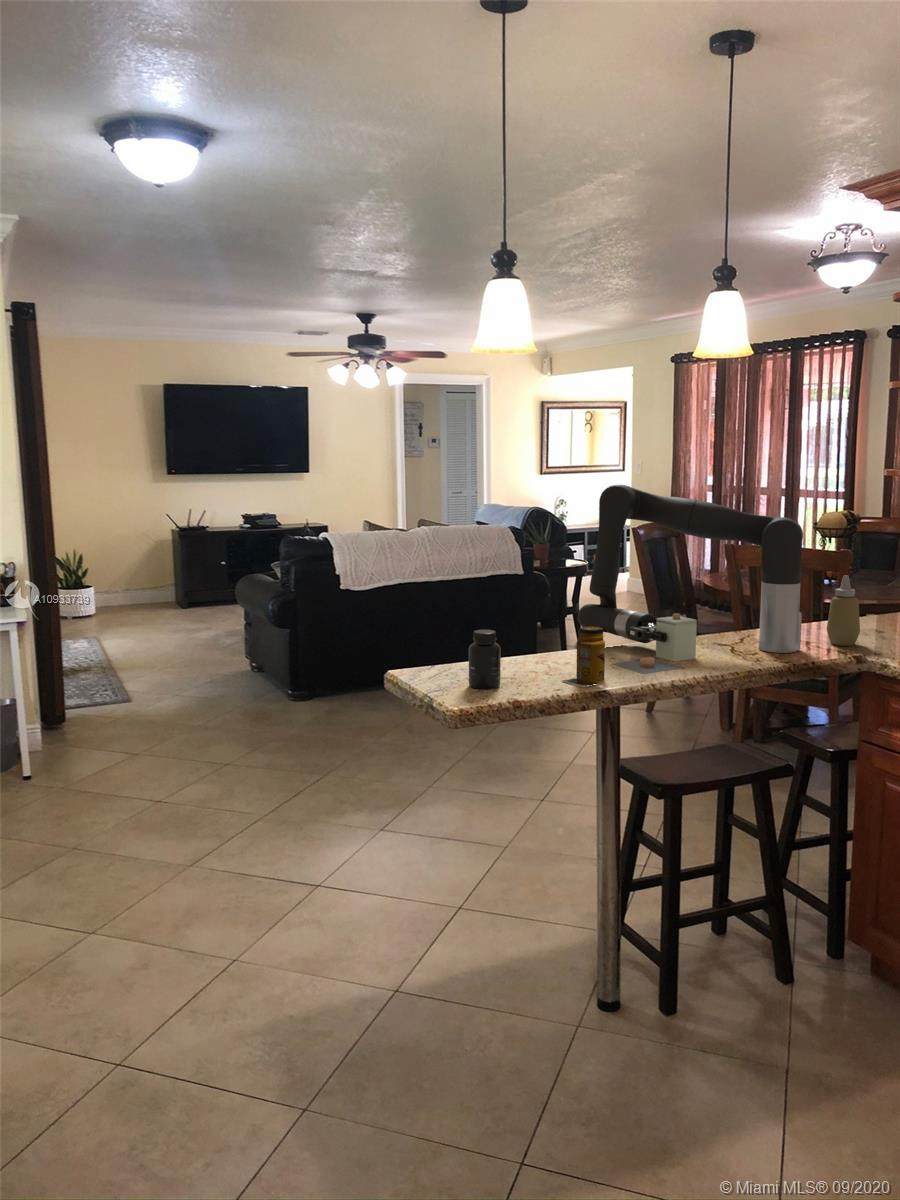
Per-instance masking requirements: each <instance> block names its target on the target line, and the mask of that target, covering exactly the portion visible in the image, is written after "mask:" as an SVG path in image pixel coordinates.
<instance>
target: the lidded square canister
mask: <svg viewBox="0 0 900 1200" xmlns="http://www.w3.org/2000/svg"><path fill="white" fill-rule="evenodd" d="M656 619H657V625H656V631H660V632H664V633H666V634H667V641H666V642H660V641H656V640H655V657H656V658H661V659H664V660H667V661H671V662H682V661H689V660H695V659H696V656H697V655H696V654H697V653H696V652H697V626H698V625H697V623H698V622H697V619H694V618H689V617H684V616H681V613H676V612H675V613H672V616H665V617H656Z"/></svg>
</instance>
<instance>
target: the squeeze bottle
mask: <svg viewBox="0 0 900 1200" xmlns="http://www.w3.org/2000/svg"><path fill="white" fill-rule="evenodd" d="M842 576H843V577H842V579H841V583H840V586H839V588H835V593H834V594H835V596H833V597H832V598H831V599H830V605H829V612H828V616H827V617H828V618H827V625H826V632H827V636H828V639H829V643H830V644H832V645H835V646H839V647H840V646H841V647H842V646H843V647H848V646H849V647H850V646H854V645H856V642H857V640H858V638H859V636H860V633H861V624H860V622H861V621H860V604H859V601H860V600H859V599H858V598H857V597H855V596H856V589H854V588H851V582H850V576H849V574H845V575H842Z"/></svg>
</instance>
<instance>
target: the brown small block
mask: <svg viewBox="0 0 900 1200" xmlns="http://www.w3.org/2000/svg"><path fill="white" fill-rule="evenodd" d="M639 660H640V666H641V667H654V660H656V659H655V658H654V657H653V656H641V657H640V659H639Z"/></svg>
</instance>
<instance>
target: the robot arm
mask: <svg viewBox="0 0 900 1200" xmlns="http://www.w3.org/2000/svg"><path fill="white" fill-rule="evenodd" d="M598 503H599V505H598V508H599V509H598V534H597V543H596V549H595V555H594V561H593V566H592V571H591V576H590V577H591V578H590V582H589V593H590V594H592V595H594V596H597V597H599V602H600V603H598V604H596V603H589V604H588V603H587V604H584V605H583V606H582V607H580V609H579V610H578V612H577V621H578V624H579V625H580V626H581V627H586V626H595V627H601V628H602V629H603V633H607V634H612V635H614V636H616V637H617V636H618V637H622V638H623V639H627V640H628V641H629V640H630V641H633V642H638V643H642V644H649V643H652V642H653V641H655V642H656V641H660V642H666V641H667V634H666V633H664V632H660V631H656V625H657V617H656V616H655V615H653V614H651V613H646V612H642V611H636V610H629V609H628V610H627V609H624V608H623V609H622V608H618V607H617V595H616V594H617V591H616V590H617V585H618V581H619V574H620V566H621V543H622V538H623V537H622V535H623V532H624V528H625V526H626V521H627V520H636V521H642V522H647V523H648V522H649V523H653V524H657V525H659V526H661V527H664V528H665V529H669V530H671V531H674V532H677V533H681V534H684V535H688V536H692V537H696V538H701V539H708V540H709V539H710V540H715V541H716V540H717V541H718V540H719V541H733V542H735V541H737V542H743V543H749V544H752V545H755V546H759V547H761V562H760V563H761V565H760V567H761V568H760V570H761V571H760V572H761V580H760V582H761V583H760V588H761V589H760V606H759V607H760V610H759V613H760V614H759V632H758V633H759V634H758V635H759V636H758V650H761V651H763V652H770V653H775V654H777V653H779V654H787V653H789V654H790V653H796V652H798V651H799V650H801V643H802V642H801V641H802V623H803V622H802V621H803V620H802V619H803V617H802V616H803V613H802V612H801V611H800V602H801V582H802V581H801V580H802V556H803V555H802V554H803V539H804V532H803V528H802V527H801V525H800V524H799V522H798V521H796V520H794V519H793V518H790V517H785V516H784V517H783V516H769V515H762V514H761V515H760V514H753V513H748V512H745V511H742V510H741V511H740V510H739V509H734V508H733V507H729V506H726V505H720V504H717V503H713V502H709V501H705V500H699V499H693V498H687V497H686V498H684V497H678V496H665V495H658V494H654V493H651V492H647V491H643V490H640V489H638V488H634V487H631V486H629V485H627V484H612V485H610V486H608V487H606V488H605V489H604V490H602V493H601V495H600V496H599V500H598Z"/></svg>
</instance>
